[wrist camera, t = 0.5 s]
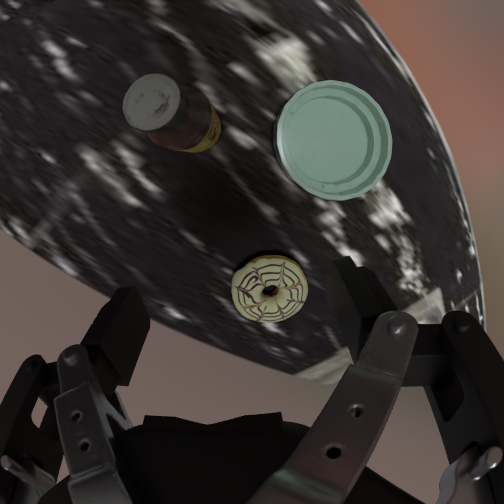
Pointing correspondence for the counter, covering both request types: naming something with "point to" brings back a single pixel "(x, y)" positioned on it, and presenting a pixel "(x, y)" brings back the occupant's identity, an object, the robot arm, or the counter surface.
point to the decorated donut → (265, 274)
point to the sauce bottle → (171, 114)
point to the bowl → (332, 140)
